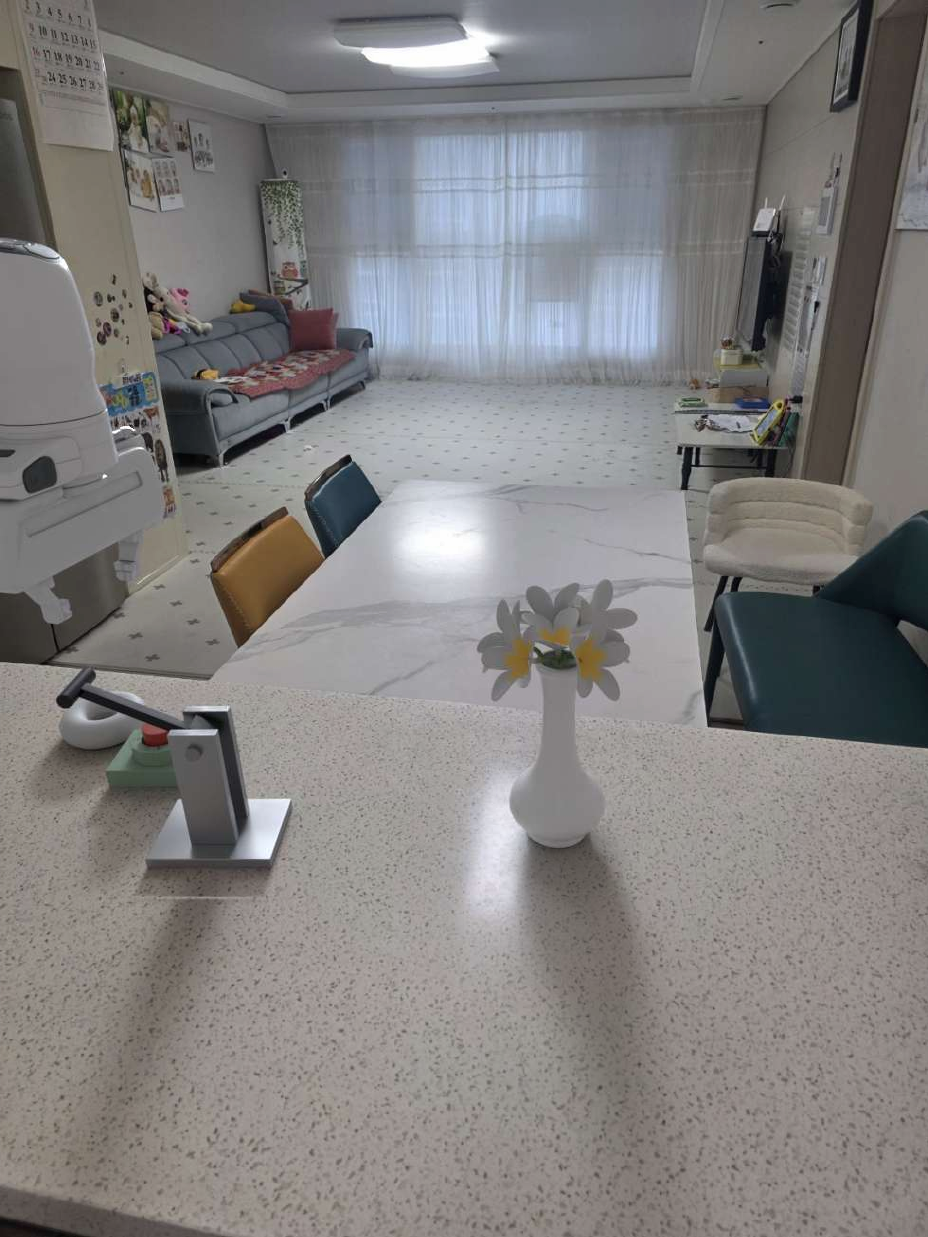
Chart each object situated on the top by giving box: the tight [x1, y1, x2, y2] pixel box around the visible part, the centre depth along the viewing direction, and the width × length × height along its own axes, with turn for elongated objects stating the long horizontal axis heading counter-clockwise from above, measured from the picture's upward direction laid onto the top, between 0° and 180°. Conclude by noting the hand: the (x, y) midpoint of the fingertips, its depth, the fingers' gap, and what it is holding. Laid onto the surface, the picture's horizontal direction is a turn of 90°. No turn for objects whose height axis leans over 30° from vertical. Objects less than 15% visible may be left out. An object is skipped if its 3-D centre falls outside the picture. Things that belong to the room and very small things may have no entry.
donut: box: [58, 690, 147, 750], centre depth 99 cm, size 10×3×10 cm
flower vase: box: [476, 578, 639, 849], centre depth 77 cm, size 13×18×25 cm
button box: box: [105, 728, 178, 788], centre depth 92 cm, size 10×8×4 cm
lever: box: [55, 667, 224, 738], centre depth 76 cm, size 14×5×2 cm, turn 89°
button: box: [142, 723, 169, 747], centre depth 91 cm, size 4×4×2 cm
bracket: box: [144, 705, 294, 870], centre depth 79 cm, size 12×9×14 cm
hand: (96, 598), depth 75 cm, fingers open, 8 cm apart
